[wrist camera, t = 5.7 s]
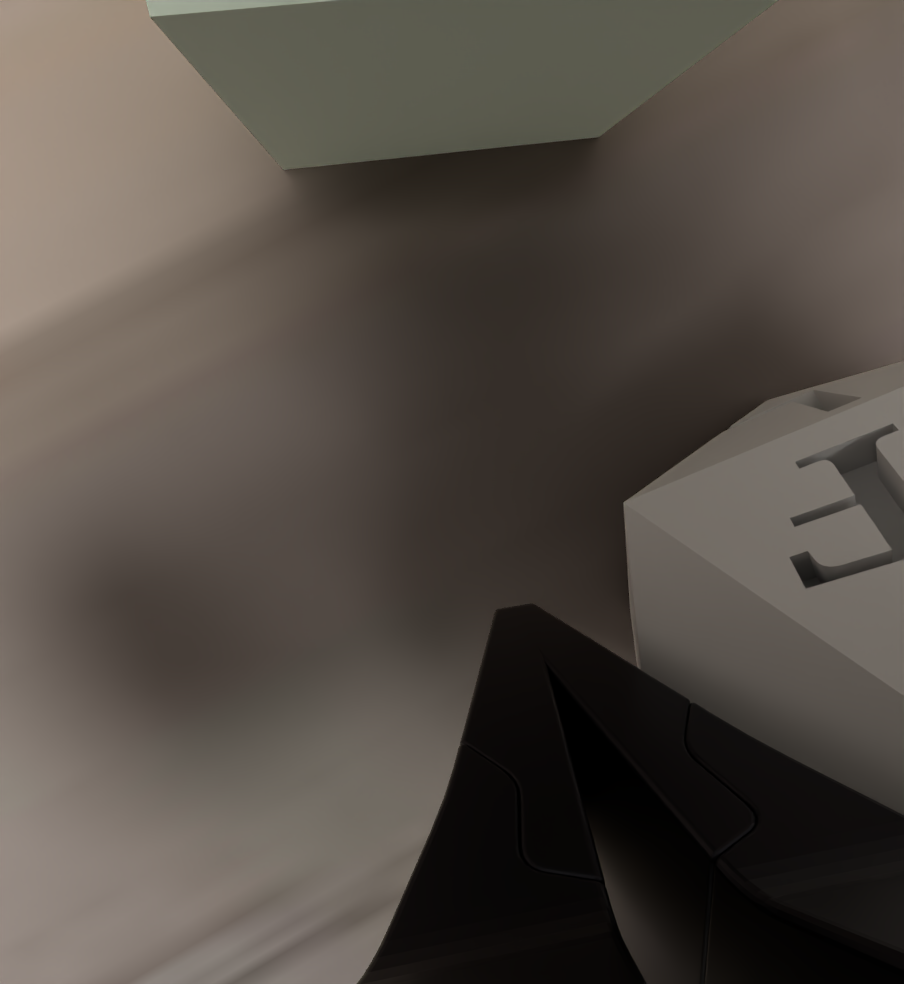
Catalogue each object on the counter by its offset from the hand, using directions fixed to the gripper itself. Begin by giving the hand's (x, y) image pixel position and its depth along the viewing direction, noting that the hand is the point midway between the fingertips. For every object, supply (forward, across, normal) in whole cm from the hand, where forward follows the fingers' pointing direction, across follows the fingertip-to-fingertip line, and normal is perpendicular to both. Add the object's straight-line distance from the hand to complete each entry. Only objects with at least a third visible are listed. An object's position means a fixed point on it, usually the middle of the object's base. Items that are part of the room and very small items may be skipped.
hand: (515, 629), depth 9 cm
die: (+2, -6, 0) cm, 6 cm away
